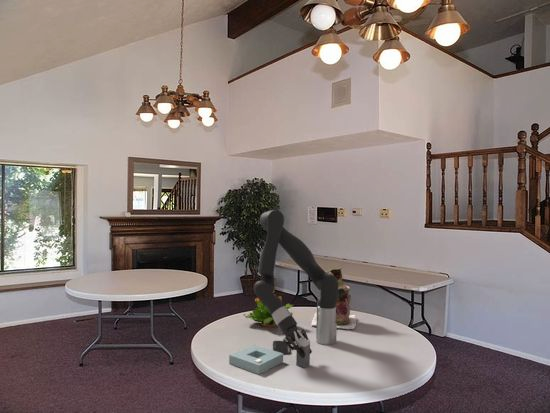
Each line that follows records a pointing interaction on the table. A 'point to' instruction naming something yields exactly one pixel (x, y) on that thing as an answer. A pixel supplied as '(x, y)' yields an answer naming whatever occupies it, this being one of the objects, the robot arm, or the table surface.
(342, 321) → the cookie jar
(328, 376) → the table surface
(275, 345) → the phone
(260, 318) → the green flowering plant
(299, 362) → the plug
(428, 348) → the table surface
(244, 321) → the table surface
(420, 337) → the table surface
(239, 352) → the socket
